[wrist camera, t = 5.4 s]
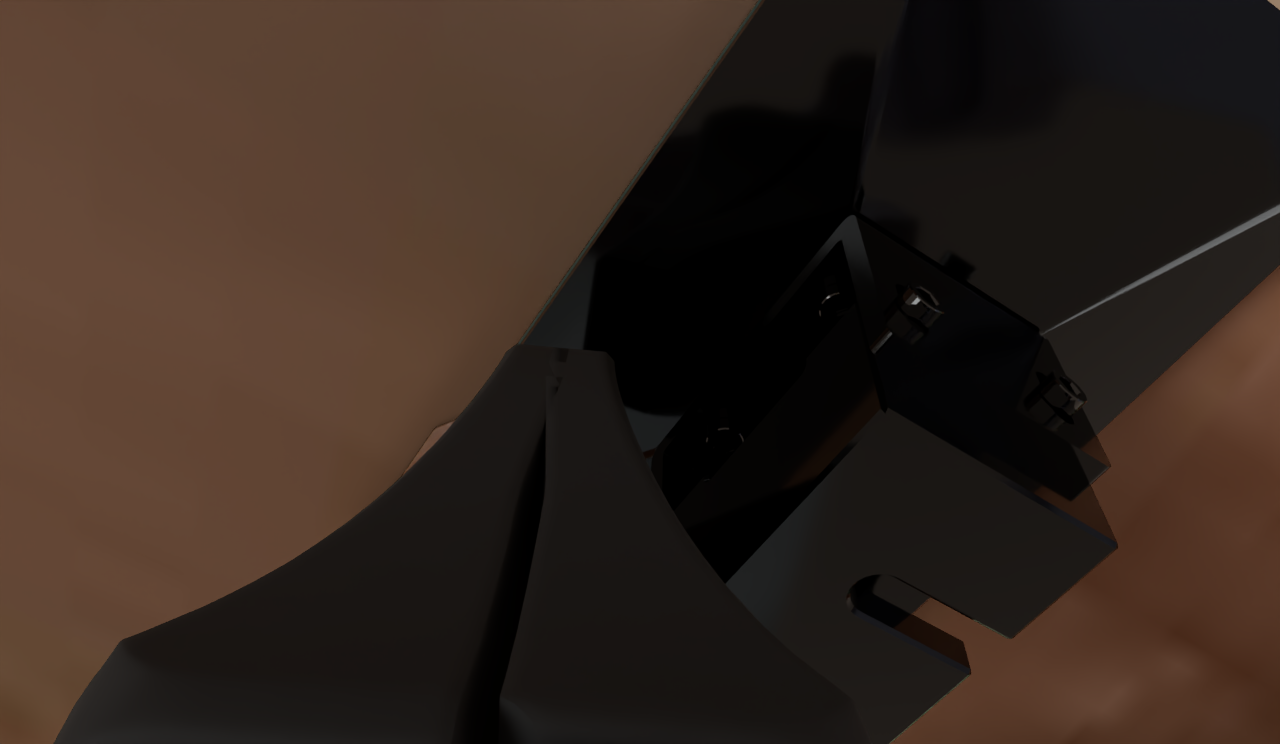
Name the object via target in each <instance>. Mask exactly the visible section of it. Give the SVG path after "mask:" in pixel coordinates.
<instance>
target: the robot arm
mask: <svg viewBox="0 0 1280 744" xmlns="http://www.w3.org/2000/svg"><path fill="white" fill-rule="evenodd" d="M54 744H872V741H871V739H870V736H869V734H868V732H867V729H866V727H865V724H864V722H863V720H862V717H861V715H860V713H859V710H858V708H857V706H856V704H855V702H854V701H853V700H852V698H851V697H849V696H848V695H847V694H845V693H844V692H843V691H842V690H840V689H839V688H838V687H836V686H835V685H834V684H832V683H831V682H830V681H829V680H827V679H826V678H825V677H823V676H822V675H821V674H819V673H818V672H817V671H815V670H814V669H813V668H812V667H810V666H809V665H808V664H806V663H805V662H804V661H802V660H801V659H800V658H799V657H797V656H796V655H795V654H794V653H792V652H791V651H790V650H789V649H788V648H787V647H786V646H785V645H783V644H782V643H781V642H780V641H779V640H778V639H777V638H776V637H775V636H774V635H773V634H772V633H770V632H769V631H768V630H767V629H766V628H765V627H764V626H763V625H762V624H761V623H760V622H759V621H758V619H757V618H756V617H755V616H754V615H753V614H752V613H751V612H750V611H749V610H748V609H747V608H746V606H745V605H744V604H743V603H742V602H741V601H740V600H739V599H738V598H737V597H736V596H735V594H734V593H733V592H732V591H731V590H730V589H729V588H728V587H727V586H726V585H725V583H724V582H723V581H722V580H721V578H720V577H719V576H718V574H717V573H716V572H715V571H714V569H713V568H712V567H711V565H710V564H709V563H708V562H707V560H706V559H705V558H704V556H703V555H702V554H701V552H700V551H699V549H698V548H697V547H696V545H695V544H694V542H693V541H692V539H691V538H690V536H689V535H688V534H687V532H686V531H685V529H684V528H683V526H682V524H681V523H680V521H679V520H678V518H677V516H676V515H675V513H674V511H673V510H672V508H671V506H670V505H669V503H668V501H667V499H666V498H665V496H664V494H663V492H662V490H661V489H660V487H659V485H658V483H657V481H656V479H655V477H654V475H653V473H652V471H651V469H650V467H649V465H648V463H647V461H646V459H645V457H644V455H643V452H642V450H641V448H640V445H639V443H638V441H637V439H636V436H635V434H634V432H633V429H632V427H631V424H630V422H629V419H628V416H627V413H626V410H625V407H624V404H623V401H622V398H621V395H620V391H619V388H618V383H617V379H616V373H615V361H614V360H613V359H612V358H611V357H610V356H609V354H608V353H607V352H603V351H591V350H580V349H568V348H557V347H545V346H534V345H522V344H516V345H515V346H513V347H512V348H511V349H509V350H508V351H507V352H506V353H505V355H504V357H503V358H502V360H501V362H500V363H499V365H498V366H497V368H496V369H495V371H494V372H493V374H492V375H491V376H490V378H489V379H488V380H487V382H486V383H485V385H484V386H483V387H482V388H481V390H480V391H479V392H478V394H477V395H476V396H475V397H474V399H473V400H472V401H471V403H470V404H469V405H468V406H467V407H466V408H465V410H464V411H463V412H462V413H461V414H460V415H459V417H458V418H457V419H456V420H455V421H454V422H453V424H452V425H451V426H450V427H449V428H448V429H447V431H446V432H445V433H444V434H443V435H442V436H441V437H440V438H439V439H438V441H437V442H436V443H435V444H434V445H433V446H432V447H431V448H430V449H429V450H428V451H427V452H426V453H425V454H424V455H423V456H422V457H421V458H420V459H419V460H418V461H417V462H416V463H415V464H414V465H413V466H412V467H411V468H410V469H409V470H408V471H407V472H406V473H405V474H404V475H403V476H402V477H401V478H399V479H398V480H397V481H396V482H395V483H394V484H393V485H392V486H391V487H390V488H388V489H387V490H386V491H385V492H384V493H383V494H382V495H380V496H379V497H378V498H377V499H376V500H375V501H373V502H372V503H371V504H370V505H368V506H367V507H366V508H365V509H363V510H362V511H361V512H360V513H358V514H357V515H356V516H355V517H353V518H352V519H351V520H350V521H348V522H347V523H346V524H344V525H343V526H342V527H340V528H339V529H337V530H336V531H334V532H333V533H332V534H330V535H329V536H327V537H326V538H325V539H323V540H322V541H320V542H319V543H317V544H316V545H314V546H313V547H311V548H310V549H308V550H307V551H305V552H304V553H302V554H301V555H299V556H298V557H296V558H294V559H293V560H291V561H290V562H288V563H286V564H285V565H283V566H281V567H279V568H277V569H276V570H274V571H272V572H270V573H269V574H267V575H265V576H263V577H261V578H260V579H258V580H256V581H254V582H252V583H250V584H248V585H246V586H244V587H242V588H240V589H238V590H237V591H235V592H233V593H231V594H229V595H227V596H225V597H223V598H221V599H218V600H216V601H214V602H212V603H210V604H208V605H206V606H204V607H201V608H199V609H197V610H194V611H192V612H189V613H187V614H185V615H182V616H180V617H177V618H175V619H173V620H170V621H168V622H166V623H163V624H161V625H158V626H156V627H154V628H151V629H149V630H146V631H144V632H142V633H139V634H136V635H134V636H131V637H128V638H126V639H123V640H122V641H120V642H119V644H118V645H117V647H116V648H115V649H114V651H113V652H112V654H111V655H110V656H109V658H108V659H107V661H106V662H105V663H104V665H103V666H102V668H101V669H100V670H99V671H98V673H97V674H96V675H95V676H94V678H93V679H92V681H91V682H90V683H89V685H88V686H87V688H86V689H85V691H84V692H83V694H82V695H81V697H80V698H79V699H78V701H77V702H76V704H75V706H74V707H73V709H72V711H71V713H70V714H69V716H68V718H67V720H66V722H65V723H64V725H63V727H62V729H61V731H60V733H59V734H58V736H57V738H56V740H55V742H54Z"/></svg>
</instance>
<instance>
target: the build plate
mask: <svg viewBox="0 0 1280 744" xmlns="http://www.w3.org/2000/svg"><path fill="white" fill-rule="evenodd" d="M1279 265H1280V10H1279V9H1277V8H1276V7H1275V6H1274V5H1272V4H1271V3H1270V2H1268V1H1267V0H758V1H757V2H756V4H755V5H754V6H753V8H752V9H751V11H750V12H749V14H748V15H747V16H746V18H745V19H744V21H743V22H742V24H741V25H740V26H739V28H738V29H737V31H736V32H735V34H734V35H733V36H732V38H731V39H730V41H729V42H728V44H727V45H726V46H725V48H724V49H723V51H722V52H721V54H720V55H719V56H718V58H717V59H716V61H715V62H714V64H713V65H712V66H711V68H710V69H709V71H708V72H707V74H706V75H705V76H704V78H703V79H702V81H701V82H700V83H699V85H698V86H697V88H696V89H695V91H694V92H693V93H692V95H691V96H690V98H689V99H688V101H687V102H686V103H685V105H684V106H683V108H682V109H681V111H680V112H679V113H678V115H677V116H676V118H675V119H674V121H673V122H672V123H671V125H670V126H669V128H668V129H667V131H666V132H665V133H664V135H663V136H662V138H661V139H660V141H659V142H658V143H657V145H656V146H655V148H654V149H653V151H652V152H651V153H650V155H649V156H648V158H647V159H646V161H645V162H644V163H643V165H642V166H641V168H640V169H639V171H638V172H637V173H636V175H635V176H634V178H633V179H632V180H631V182H630V183H629V185H628V186H627V188H626V189H625V190H624V192H623V193H622V195H621V196H620V198H619V199H618V200H617V202H616V203H615V205H614V206H613V208H612V209H611V210H610V212H609V213H608V215H607V216H606V218H605V219H604V220H603V222H602V223H601V225H600V226H599V228H598V229H597V230H596V232H595V233H594V235H593V236H592V238H591V239H590V240H589V242H588V243H587V245H586V246H585V248H584V249H583V250H582V252H581V253H580V255H579V256H578V258H577V259H576V260H575V262H574V263H573V265H572V266H571V268H570V269H569V270H568V272H567V273H566V275H565V276H564V277H563V279H562V280H561V282H560V283H559V285H558V286H557V287H556V289H555V290H554V292H553V293H552V295H551V296H550V297H549V299H548V300H547V302H546V303H545V305H544V306H543V307H542V309H541V310H540V312H539V313H538V315H537V316H536V317H535V319H534V320H533V322H532V323H531V325H530V326H529V327H528V329H527V330H526V332H525V333H524V335H523V336H522V337H521V339H520V340H519V342H518V343H517V344H522V345H534V346H545V347H557V348H568V349H580V350H591V351H603V352H607V353H608V354H609V356H610V357H611V358H612V359H613V360H614V361H615V373H616V379H617V383H618V388H619V391H620V395H621V398H622V401H623V404H624V407H625V410H626V413H627V416H628V419H629V422H630V424H631V427H632V429H633V432H634V434H635V436H636V439H637V441H638V443H639V445H640V448H641V450H642V452H643V455H644V457H645V459H646V461H647V463H648V465H649V467H650V469H651V471H652V473H653V475H654V477H655V479H656V481H657V483H658V485H659V487H660V489H661V490H662V492H663V494H664V496H665V498H666V499H667V501H668V503H669V505H670V506H671V508H672V510H673V511H674V513H675V515H676V516H677V518H678V520H679V521H680V523H681V524H682V526H683V528H684V529H685V531H686V532H687V534H688V535H689V536H690V538H691V539H692V541H693V542H694V544H695V545H696V547H697V548H698V549H699V551H700V552H701V554H702V555H703V556H704V558H705V559H706V560H707V562H708V563H709V564H710V565H711V567H712V568H713V569H714V571H715V572H716V573H717V574H718V576H719V577H720V578H721V580H722V581H723V582H724V583H725V585H726V586H727V587H728V588H729V589H730V590H731V591H732V592H733V593H734V594H735V596H736V597H737V598H738V599H739V600H740V601H741V602H742V603H743V604H744V605H745V606H746V608H747V609H748V610H749V611H750V612H751V613H752V614H753V615H754V616H755V617H756V618H757V619H758V621H759V622H760V623H761V624H762V625H763V626H764V627H765V628H766V629H767V630H768V631H769V632H770V633H772V634H773V635H774V636H775V637H776V638H777V639H778V640H779V641H780V642H781V643H782V644H783V645H785V646H786V647H787V648H788V649H789V650H790V651H791V652H792V653H794V654H795V655H796V656H797V657H799V658H800V659H801V660H802V661H804V662H805V663H806V664H808V665H809V666H810V667H812V668H813V669H814V670H815V671H817V672H818V673H819V674H821V675H822V676H823V677H825V678H826V679H827V680H829V681H830V682H831V683H832V684H834V685H835V686H836V687H838V688H839V689H840V690H842V691H843V692H844V693H845V694H847V695H848V696H849V697H851V698H852V700H853V701H854V702H855V704H856V706H857V708H858V710H859V713H860V715H861V717H862V720H863V722H864V724H865V727H866V729H867V732H868V734H869V736H870V739H871V741H872V744H890V743H891V742H892V741H894V740H895V739H896V738H897V737H898V736H899V735H901V734H902V733H903V732H904V731H905V730H906V729H908V728H909V727H910V726H911V725H912V724H913V723H915V722H916V721H917V720H918V719H919V718H920V717H922V716H923V715H924V714H925V713H926V712H927V711H929V710H930V709H931V708H932V707H933V706H934V705H936V704H937V703H938V702H939V701H940V700H941V699H943V698H944V697H945V696H946V695H947V694H948V693H950V692H951V691H952V690H953V689H954V688H955V687H957V686H958V685H959V684H960V683H961V682H962V681H964V680H965V679H966V678H967V677H968V676H969V675H971V669H970V665H969V662H968V658H967V654H966V651H965V647H964V643H963V641H961V640H959V639H957V638H955V637H953V636H951V635H950V634H948V633H946V632H944V631H942V630H940V629H938V628H936V627H935V626H933V625H931V624H929V623H927V622H925V621H923V620H921V619H920V618H918V617H916V616H914V615H912V614H913V613H915V612H916V611H917V610H918V609H919V608H920V607H921V606H922V605H923V604H924V603H925V602H926V601H928V600H929V599H930V598H933V599H935V600H937V601H939V602H941V603H942V604H944V605H946V606H948V607H950V608H952V609H954V610H955V611H957V612H959V613H961V614H963V615H965V616H967V617H968V618H970V619H972V620H974V621H976V622H978V623H979V624H981V625H983V626H985V627H987V628H989V629H991V630H992V631H994V632H996V633H998V634H1000V635H1002V636H1003V637H1005V638H1009V639H1012V638H1014V637H1015V636H1016V635H1017V634H1018V633H1020V632H1021V631H1022V630H1023V629H1024V628H1025V627H1027V626H1028V625H1029V624H1030V623H1031V622H1032V621H1034V620H1035V619H1036V618H1037V617H1038V616H1039V615H1041V614H1042V613H1043V612H1044V611H1045V610H1046V609H1048V608H1049V607H1050V606H1051V605H1052V604H1053V603H1055V602H1056V601H1057V600H1058V599H1059V598H1060V597H1062V596H1063V595H1064V594H1065V593H1066V592H1067V591H1069V590H1070V589H1071V588H1072V587H1073V586H1074V585H1076V584H1077V583H1078V582H1079V581H1080V580H1081V579H1083V578H1084V577H1085V576H1086V575H1087V574H1088V573H1090V572H1091V571H1092V570H1093V569H1094V568H1095V567H1096V566H1098V565H1099V564H1100V563H1101V562H1102V561H1103V560H1105V559H1106V558H1107V557H1108V556H1109V555H1110V554H1112V553H1113V552H1114V551H1115V550H1116V549H1117V548H1118V544H1117V541H1116V539H1115V537H1114V535H1113V532H1112V530H1111V528H1110V526H1109V524H1108V522H1107V520H1106V517H1105V515H1104V513H1103V511H1102V509H1101V507H1100V505H1099V502H1098V500H1097V498H1096V496H1095V494H1094V492H1093V489H1092V487H1091V485H1090V484H1092V483H1093V482H1094V481H1096V480H1097V479H1098V478H1099V477H1100V476H1101V475H1102V474H1103V473H1104V472H1105V471H1107V470H1108V469H1109V468H1110V467H1111V464H1110V462H1109V460H1108V458H1107V456H1106V454H1105V452H1104V450H1103V448H1102V446H1101V444H1100V442H1099V440H1098V438H1097V436H1096V435H1097V434H1098V433H1099V432H1100V431H1101V430H1102V429H1103V428H1104V427H1106V426H1107V425H1108V424H1109V423H1110V422H1111V421H1112V420H1113V419H1114V418H1115V417H1116V416H1117V415H1118V414H1120V413H1121V412H1122V411H1123V410H1124V409H1125V408H1126V407H1127V406H1128V405H1129V404H1130V403H1131V402H1132V401H1134V400H1135V399H1136V398H1137V397H1138V396H1139V395H1140V394H1141V393H1142V392H1143V391H1144V390H1145V389H1146V388H1148V387H1149V386H1150V385H1151V384H1152V383H1153V382H1154V381H1155V380H1156V379H1157V378H1158V377H1159V376H1160V375H1162V374H1163V373H1164V372H1165V371H1166V370H1167V369H1168V368H1169V367H1170V366H1171V365H1172V364H1173V363H1174V362H1176V361H1177V360H1178V359H1179V358H1180V357H1181V356H1182V355H1183V354H1184V353H1185V352H1186V351H1187V350H1188V349H1190V348H1191V347H1192V346H1193V345H1194V344H1195V343H1196V342H1197V341H1198V340H1199V339H1200V338H1201V337H1202V336H1203V335H1205V334H1206V333H1207V332H1208V331H1209V330H1210V329H1211V328H1212V327H1213V326H1214V325H1215V324H1216V323H1217V322H1219V321H1220V320H1221V319H1222V318H1223V317H1224V316H1225V315H1226V314H1227V313H1228V312H1229V311H1230V310H1231V309H1233V308H1234V307H1235V306H1236V305H1237V304H1238V303H1239V302H1240V301H1241V300H1242V299H1243V298H1244V297H1245V296H1247V295H1248V294H1249V293H1250V292H1251V291H1252V290H1253V289H1254V288H1255V287H1256V286H1257V285H1258V284H1259V283H1261V282H1262V281H1263V280H1264V279H1265V278H1266V277H1267V276H1268V275H1269V274H1270V273H1271V272H1272V271H1273V270H1275V269H1276V268H1277V267H1278V266H1279ZM455 420H456V419H454V420H452V421H449V422H447V423H444V424H442V425H439V426H437V427H435V428H434V429H433V431H432V432H431V434H430V435H429V437H428V438H427V439H426V441H425V442H424V444H423V445H422V447H421V448H420V450H419V451H418V453H417V454H416V455H415V457H414V458H413V460H412V461H411V463H410V464H409V466H408V467H407V469H406V470H405V471H404V473H403V474H402V476H403V475H404V474H405V473H406V472H407V471H408V470H409V469H410V468H411V467H412V466H413V465H414V464H415V463H416V462H417V461H418V460H419V459H420V458H421V457H422V456H423V455H424V454H425V453H426V452H427V451H428V450H429V449H430V448H431V447H432V446H433V445H434V444H435V443H436V442H437V441H438V439H439V438H440V437H441V436H442V435H443V434H444V433H445V432H446V431H447V429H448V428H449V427H450V426H451V425H452V424H453V422H454V421H455ZM402 476H401V477H402ZM401 477H400V478H401Z"/></svg>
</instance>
